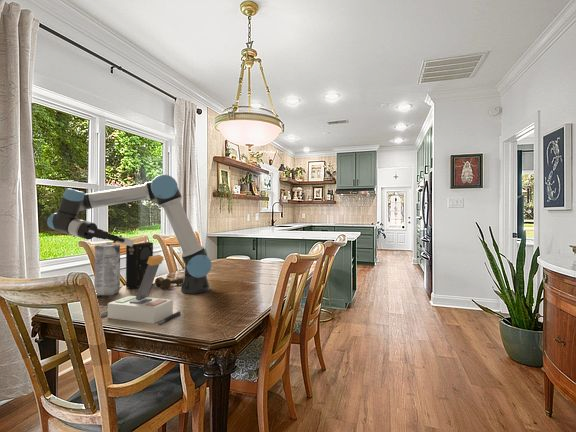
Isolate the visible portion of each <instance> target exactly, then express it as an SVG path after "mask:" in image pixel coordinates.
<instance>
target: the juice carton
mask: <svg viewBox="0 0 576 432" xmlns="http://www.w3.org/2000/svg"><path fill="white" fill-rule="evenodd" d="M120 246H121V245H120V243H118V244H116V243H115V244H114V243H113V241H112V242H110V241H107V242H106V244H104V243H103V244H98V245H95V246H94V291H95V290H96V293H97V295H96V296H114V295H115V294H118V292H119V291H120V286H121V247H120Z"/></svg>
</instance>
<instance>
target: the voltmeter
mask: <svg viewBox="0 0 576 432" xmlns="http://www.w3.org/2000/svg"><path fill="white" fill-rule="evenodd" d="M125 246H126V247H125V249H126V250H125V254H126V255H125V257H126V258H125V262H126V263H125V288H127V289H135V290H139V288H140V285H141V283H142V280H143V277H144V274H145V272H146V269H147V266H148V264H147V262H148V259H149V257H150V256H154V243H153V242H151V241H150V242H149V241H143V242H137V243H133V245H132V246H128V245H125Z"/></svg>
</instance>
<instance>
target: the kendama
mask: <svg viewBox="0 0 576 432" xmlns="http://www.w3.org/2000/svg"><path fill="white" fill-rule="evenodd" d="M184 277H185V275H184V276H181V277H176V278H175V279H169V278H164V277H162V276H159V277H157V278H156V279H154V282H153V283H152V286H154V285H155V286H156V287H158V288H159V287H160V288H161V289H163V290H168V289H169V288H171V285H172V284H173V285H178V286H179V285H182V283H183V280H184Z"/></svg>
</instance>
